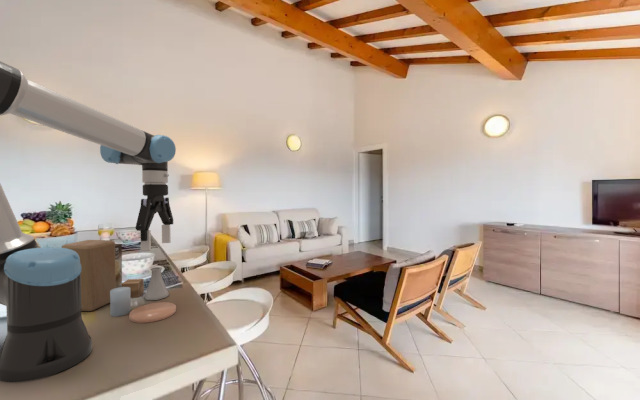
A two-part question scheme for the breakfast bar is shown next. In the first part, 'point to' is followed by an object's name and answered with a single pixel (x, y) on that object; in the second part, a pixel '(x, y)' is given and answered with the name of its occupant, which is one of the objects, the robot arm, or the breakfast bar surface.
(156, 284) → the flask
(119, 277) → the coffee box
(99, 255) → the block
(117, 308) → the blue-grey cylinder
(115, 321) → the breakfast bar surface
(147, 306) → the terracotta plate
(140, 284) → the walnut cube
